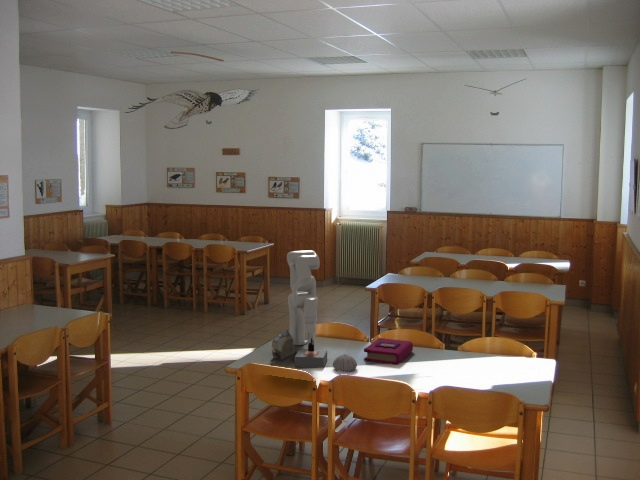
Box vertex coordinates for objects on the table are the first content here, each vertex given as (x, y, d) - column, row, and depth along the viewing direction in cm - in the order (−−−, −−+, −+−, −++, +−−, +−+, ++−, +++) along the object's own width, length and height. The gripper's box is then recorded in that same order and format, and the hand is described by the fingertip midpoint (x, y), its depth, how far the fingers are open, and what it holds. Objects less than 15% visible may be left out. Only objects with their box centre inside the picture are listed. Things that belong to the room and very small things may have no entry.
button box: (299, 358, 385) (299, 348, 384) (327, 359, 382) (327, 349, 382) (294, 366, 369) (294, 356, 368) (323, 367, 367) (323, 357, 366)
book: (412, 352, 395) (412, 340, 394) (398, 365, 370) (398, 352, 369) (379, 349, 404) (379, 336, 403) (362, 361, 378) (363, 348, 377)
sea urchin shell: (336, 374, 355) (336, 359, 354) (329, 366, 368) (329, 352, 367) (360, 372, 358) (360, 357, 357) (352, 364, 371) (352, 350, 370)
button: (306, 355, 379) (306, 350, 379) (318, 356, 378) (318, 351, 378) (304, 359, 372) (304, 354, 372) (316, 359, 371) (316, 354, 371)
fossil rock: (282, 367, 379) (278, 343, 375) (267, 366, 383) (263, 342, 379) (297, 351, 398) (293, 327, 393) (282, 350, 401) (278, 327, 397)
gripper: (306, 316, 381) (306, 347, 383) (302, 322, 366) (302, 355, 368) (319, 316, 380) (319, 347, 382) (315, 322, 365) (315, 355, 367)
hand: (311, 351), depth 375 cm, fingers closed
